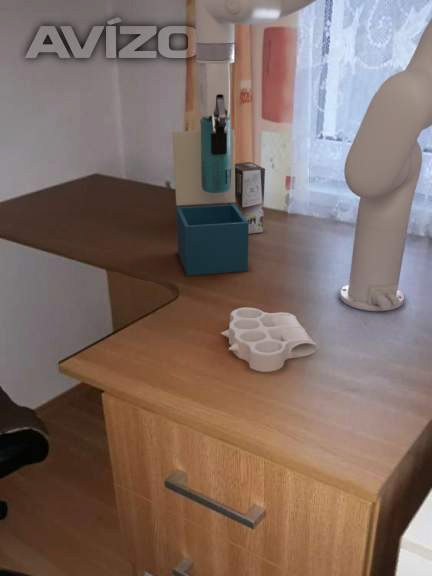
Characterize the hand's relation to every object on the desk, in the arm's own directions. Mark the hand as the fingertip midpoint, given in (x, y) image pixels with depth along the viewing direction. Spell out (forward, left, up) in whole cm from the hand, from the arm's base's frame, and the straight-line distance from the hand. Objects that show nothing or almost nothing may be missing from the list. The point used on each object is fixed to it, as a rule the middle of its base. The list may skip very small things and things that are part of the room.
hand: (215, 149), depth 128 cm
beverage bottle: (0, 0, -10) cm, 10 cm away
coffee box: (+22, -12, -25) cm, 35 cm away
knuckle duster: (-42, -1, -25) cm, 49 cm away
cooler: (0, +1, -25) cm, 25 cm away
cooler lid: (+8, +1, -6) cm, 10 cm away
